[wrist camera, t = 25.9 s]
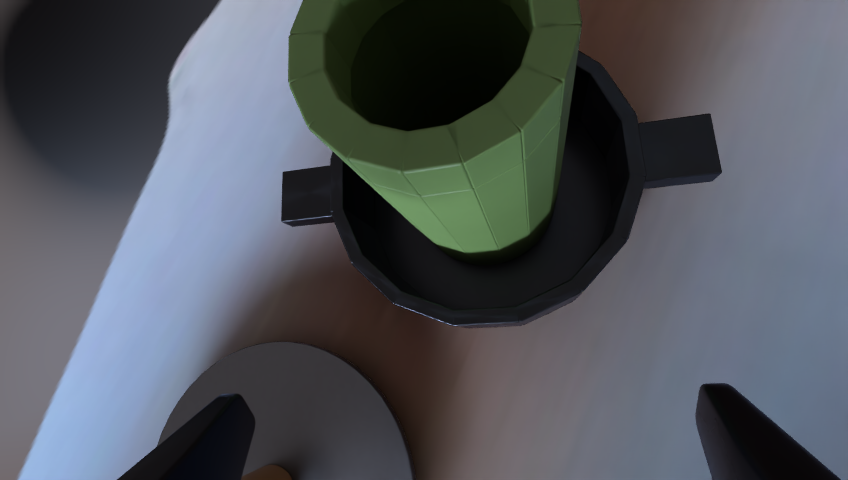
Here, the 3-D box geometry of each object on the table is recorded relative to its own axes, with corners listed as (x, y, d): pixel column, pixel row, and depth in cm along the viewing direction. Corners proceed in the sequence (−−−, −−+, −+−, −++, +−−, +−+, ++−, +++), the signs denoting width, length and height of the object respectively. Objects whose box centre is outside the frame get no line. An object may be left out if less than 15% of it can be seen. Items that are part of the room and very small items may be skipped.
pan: (710, 316, 19) (759, 310, 15) (317, 336, 23) (268, 335, 19) (663, 53, 22) (693, -15, 18) (319, 110, 26) (277, 66, 21)
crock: (572, 151, 21) (617, -88, 9) (532, 283, 21) (526, 205, 9) (443, 123, 23) (343, -106, 11) (401, 243, 22) (247, 134, 10)
